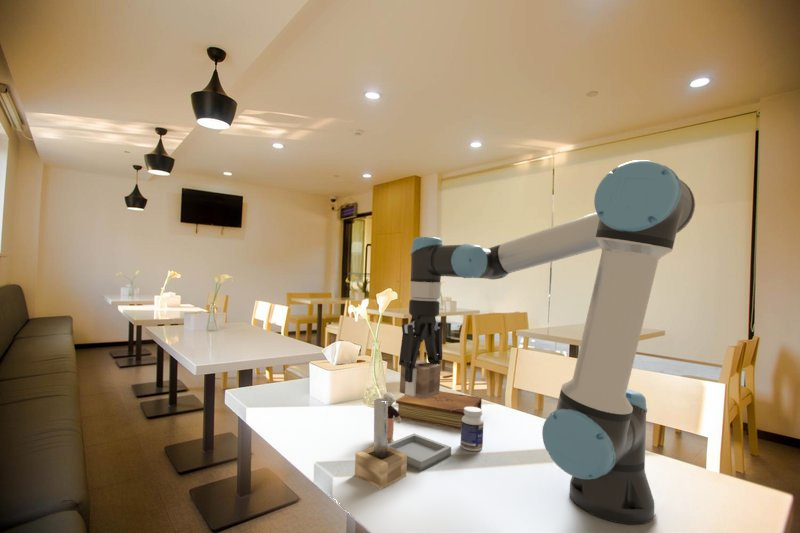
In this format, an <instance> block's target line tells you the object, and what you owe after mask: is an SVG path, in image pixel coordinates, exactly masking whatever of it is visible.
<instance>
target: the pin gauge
mask: <svg viewBox="0 0 800 533" xmlns="http://www.w3.org/2000/svg"><path fill="white" fill-rule="evenodd" d="M373 404H374V405H373V406H374V407H373V446H374V457H376V458H378V459H380V460H383V459H385V458H388V444H389V443H388V400H387V399H384V398H383V397H380V398H376V399H374V401H373Z"/></svg>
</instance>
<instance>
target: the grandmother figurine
mask: <svg viewBox="0 0 800 533" xmlns="http://www.w3.org/2000/svg"><path fill="white" fill-rule="evenodd" d="M382 396H383V397H382V398H383V399H387V400H388V444H389V443H392V442H394V441H395V440H394V438H393V437H394V428H395V427H394V426H395V425H394V422H395V420H394V418H395V419H396V421H397V423H398V424H401V423H402V418H400V414H399V413H398V409H396V408H395V407H394V406H393V405H394V403H396V400H397V399H396V397H395V395H394V394H393V393H392V392H385V393H384V394H383V395H382Z"/></svg>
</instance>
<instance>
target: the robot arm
mask: <svg viewBox="0 0 800 533" xmlns="http://www.w3.org/2000/svg"><path fill="white" fill-rule="evenodd" d="M593 204H594V210H595V212H593V213H590V214H586V215H584V216H581V217H578V218H576V219H573V220H572V219H571V220H569V221H566V222H563V223H560V224H557V225H554V226H551V227H548V228H545V229H542V230H540V231H536V232H533V233H530V234H527V235H525V236H522V237H519V238H515V239H512V240H510V241H506V242H504V243H501V244H498V245H494V246H491V247H488V248H486V247H485V248H484V247H482V246H480V245H477V244H467V243H464V244H449V245H446V244H445V245H443V240H442V239H441V237H436V236H434V237H433V236H418V237H415V238H414V239H413V240H412V244H411V253H410V257H411V258H410V267H411V268H410V284H409V286H410V288H409V297H410V298H411V299H410V300H409V302H408V303H409V305H408V314H409V315H411V319H410V321H409V323H407V324H406V323H403V324H402V325H401V330H402V336H401V345H400V351H399V352H400V354H399V361H398V365H399V366H400V367H401V366H402V367H405V381H406V383H405V394H407V395H410V396H413V397H414V396H416V375H417V369H416V368H414V367H415V363H416V361H418V360H417V359H418V355H419V352H420V347H421V344H422V342H423V343H424V347H425V352H426V358H427V363H432V364H436V365H440V364H441V362H442V360H443V332H442V331H443V328H444V327H443V326H444V322H442V321H437V320H436V317H438V316H439V315H440V301H439V300H440V299H441V277H450V278H463V279H472V278H473V279H488V280H493V281H494V280H498V279H504V278H505V277H507V276H508V275H509V274H512V273H516V272H518V271H523V270H527V269H529V268H530V269H531V268H534V267H537V266H541V265H544V264H549V263H553V262H557V261H559V260H563V259H567V258H570V257H574V256H577V255H578V256H579V255H581V254H582V255H583V254H584V253H585V254H586V253H589V252H592V251H596V250H599V249H601V255H600V259H599V264H598V268H597V272H596V276H595V280H594V286H593V290H592V294H591V298H590V303H589V306H588V311H587V315H586V320H585V324H584V328H583V332H582V336H581V342H580V346H579V350H578V354H577V359H576V364H575V368H574V373H573V376H572V379H571V380H569V381H567V382H565V383H563V384H562V385H561V389H560V392H559V396H558V401H557V404H556V408H555V410H554V411H552V412H550V414H549V415H548V417H547V418H546V419H545V421H544V422H543V425H542V429H541V430H542V432H541V436H542V442H543V446H544V448H545V450H546V452H547V453H548V455H549V457H550V459H551V460H552V461H553V463H555V465H556V466H557V467H558V468H560V470H562V471H563V472H565V473H567V474H568V475H570V476H571V478H570V481H569V496H570V498H571V500H572V501H573V502H574V503H575V504H576V505H577V506H578V507H579V508H581V509H582V510H584V511H586V512H588V513H590V514H591V515H593V516H596V517H597V518H601V519H604V520H607V521H610V522H615V523H619V524H620V523H621V524H627V525H641V524H646V523H649V522H651V521H652V520H653V519H654V516H655V501H654V497H653V494H652V490H651V488H650V483H649V481H648V478H647V474H646V469H645V468H646V466H645V465H646V463H645V462H646V461H645V459H646V437H647V436H646V435H647V434H646V432H647V413H648V408H647V400H646V396H644V395H643V394H642V393H641V392H639V391H636V390H633V389H629V388H628V386H629V382H630V378H631V374H632V370H633V367H634V362H635V358H636V354H637V351H638V346H639V342H640V338H641V333H642V330H643V327H644V326H643V325H644V322H645V321H644V320H645V317H646V313H647V309H648V305H649V300H650V297H651V292H652V288H653V285H654V280H655V275H656V272H657V268H658V264H659V260H661V259H662V257H664V256H667V255H668V254H670V253H671V252H672V251H673V247H674V245H675V242H676V241H675V240H676V236H677V234H678V233H680V232H681V231H682V230H683V229H685V228H686V227H687V226H688V224H689V223H690V222H691V220H692V218H693V216H694V214H695V208H696V200H695V196H694V193H693V191H692V190H691V188H690V187H689V186H688V184H686V183H685V182H684V181H683V180H682V179H680V178H679V176H678V174H676V172H675V171H674V170H673V169H671V168H670V167H669V166H666V165H663V164H662V163H658V162H657V161H656V162H655V161H653V160H645V159H641V160H640V159H639V160H632V161H628V162H625V163H622V164H620V165H618V166H617V167H615V168H613V169H612V170H611V171H609V172H608V173H607V174H606V175H605V176H604V177H603V178H602V179H601V181H600V182H599V184H598V186H597V187H596V190H595V193H594V202H593ZM410 362H411V363H410ZM405 394H404V395H405Z"/></svg>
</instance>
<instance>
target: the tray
mask: <svg viewBox="0 0 800 533" xmlns="http://www.w3.org/2000/svg"><path fill="white" fill-rule="evenodd" d="M388 447H391V448H393V449H396V450H398V451H401V452H403V453H405V454H407V466H409V467H411V468H412V469H413V468H414V469H416V470H418V471H419V472H420V471H421V472H422V471H424V470H425V469H428V468H429V467H432V466H433V465H435V464H437V463H439V462H441V461H443V460H444V459H446V458H448V457H450V456H452V446H450V445H446V444H444V443H441V442H439V441H435V440H433V439H430V438H427V437H426V436H422V435H419V434H416V433H411V434H409V435H406V436H404V437H402V438H399V439H397V440H394V441H393V442H392V443H388Z"/></svg>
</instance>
